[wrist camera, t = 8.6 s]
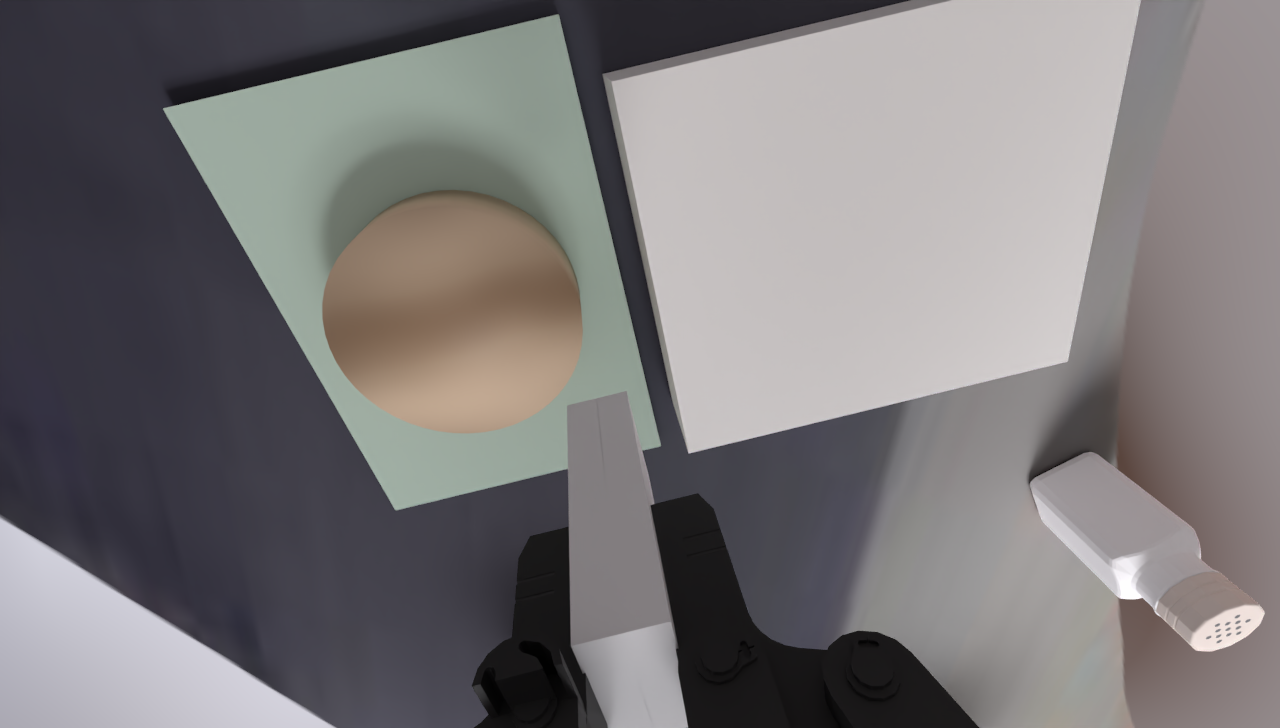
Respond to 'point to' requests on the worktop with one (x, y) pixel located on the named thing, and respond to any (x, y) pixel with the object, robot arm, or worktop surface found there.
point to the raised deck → (869, 204)
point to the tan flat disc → (455, 312)
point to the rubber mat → (404, 167)
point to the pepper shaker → (1142, 551)
